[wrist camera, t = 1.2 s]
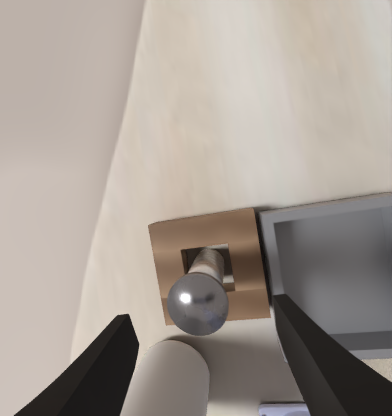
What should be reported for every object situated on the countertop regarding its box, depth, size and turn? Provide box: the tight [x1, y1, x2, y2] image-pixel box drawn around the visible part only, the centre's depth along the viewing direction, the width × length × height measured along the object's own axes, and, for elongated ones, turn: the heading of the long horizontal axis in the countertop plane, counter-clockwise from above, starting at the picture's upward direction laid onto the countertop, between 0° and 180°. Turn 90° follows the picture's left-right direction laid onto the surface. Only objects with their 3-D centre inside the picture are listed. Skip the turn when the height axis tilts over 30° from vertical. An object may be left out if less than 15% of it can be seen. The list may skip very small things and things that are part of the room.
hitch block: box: [148, 208, 271, 325], centre depth 22 cm, size 10×10×2 cm
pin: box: [167, 249, 229, 336], centre depth 18 cm, size 4×4×9 cm
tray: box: [258, 193, 392, 363], centre depth 19 cm, size 13×11×3 cm
